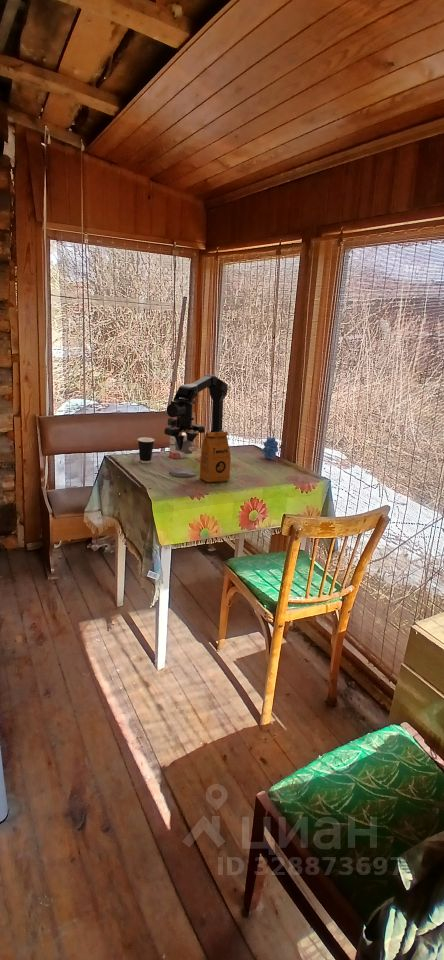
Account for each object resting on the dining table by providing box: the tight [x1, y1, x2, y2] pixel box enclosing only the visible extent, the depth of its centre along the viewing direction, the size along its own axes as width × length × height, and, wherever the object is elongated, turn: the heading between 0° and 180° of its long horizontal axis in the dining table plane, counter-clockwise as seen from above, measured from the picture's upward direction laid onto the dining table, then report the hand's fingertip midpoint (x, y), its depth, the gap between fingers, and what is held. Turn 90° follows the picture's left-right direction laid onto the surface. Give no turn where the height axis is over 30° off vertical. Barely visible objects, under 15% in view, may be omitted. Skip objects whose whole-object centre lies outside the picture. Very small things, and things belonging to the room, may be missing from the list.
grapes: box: [262, 436, 279, 460], centre depth 284 cm, size 12×7×12 cm, turn 32°
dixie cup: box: [137, 437, 155, 464], centre depth 264 cm, size 8×8×11 cm
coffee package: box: [199, 431, 232, 483], centre depth 242 cm, size 10×12×22 cm
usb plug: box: [175, 439, 198, 455], centre depth 247 cm, size 4×12×5 cm, turn 42°
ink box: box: [168, 432, 189, 459], centre depth 277 cm, size 8×5×12 cm, turn 123°
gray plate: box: [168, 467, 197, 479], centre depth 251 cm, size 12×12×1 cm
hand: (183, 449), depth 248 cm, fingers closed on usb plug, 4 cm apart
